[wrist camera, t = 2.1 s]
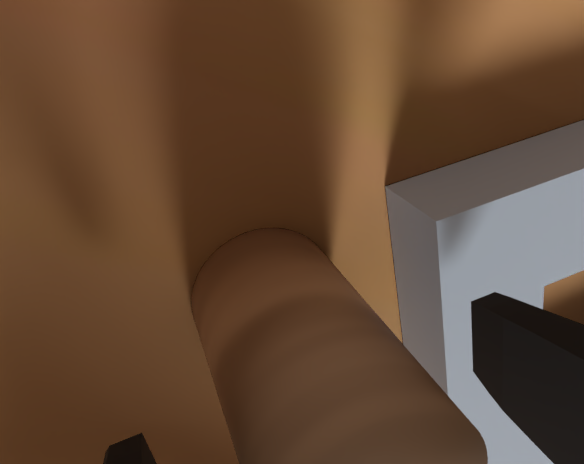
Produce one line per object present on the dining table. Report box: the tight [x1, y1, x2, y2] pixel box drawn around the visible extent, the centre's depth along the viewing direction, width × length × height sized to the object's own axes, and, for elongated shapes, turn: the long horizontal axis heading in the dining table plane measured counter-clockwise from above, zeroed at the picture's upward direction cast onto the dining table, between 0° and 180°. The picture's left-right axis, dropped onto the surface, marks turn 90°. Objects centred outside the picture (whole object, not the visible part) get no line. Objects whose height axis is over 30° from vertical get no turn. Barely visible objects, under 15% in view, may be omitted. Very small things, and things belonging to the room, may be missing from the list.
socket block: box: [385, 120, 584, 464], centre depth 18 cm, size 12×12×2 cm
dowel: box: [191, 228, 488, 464], centre depth 12 cm, size 4×4×7 cm
